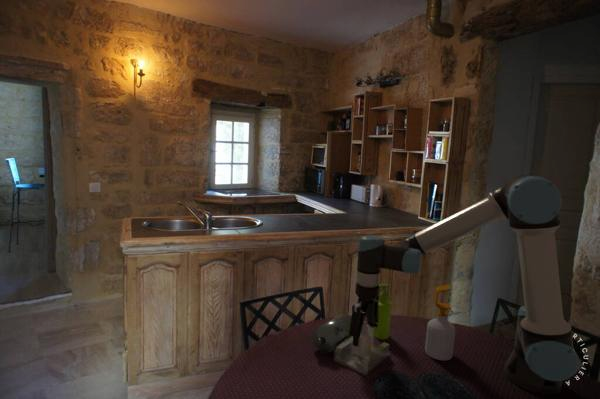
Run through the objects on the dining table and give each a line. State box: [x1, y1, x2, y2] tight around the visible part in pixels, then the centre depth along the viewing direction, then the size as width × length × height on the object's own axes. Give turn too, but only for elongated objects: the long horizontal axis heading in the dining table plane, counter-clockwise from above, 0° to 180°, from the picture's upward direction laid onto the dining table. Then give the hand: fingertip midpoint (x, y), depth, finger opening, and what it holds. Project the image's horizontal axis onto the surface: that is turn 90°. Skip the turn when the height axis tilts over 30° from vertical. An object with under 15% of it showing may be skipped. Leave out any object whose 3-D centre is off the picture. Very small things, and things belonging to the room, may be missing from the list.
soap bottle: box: [424, 284, 456, 361], centre depth 127 cm, size 9×9×25 cm
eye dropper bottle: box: [360, 320, 372, 358], centre depth 122 cm, size 4×6×12 cm
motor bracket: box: [311, 313, 391, 377], centre depth 125 cm, size 22×18×9 cm
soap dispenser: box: [374, 283, 393, 340], centre depth 138 cm, size 6×7×20 cm
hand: (362, 349), depth 123 cm, fingers open, 8 cm apart
